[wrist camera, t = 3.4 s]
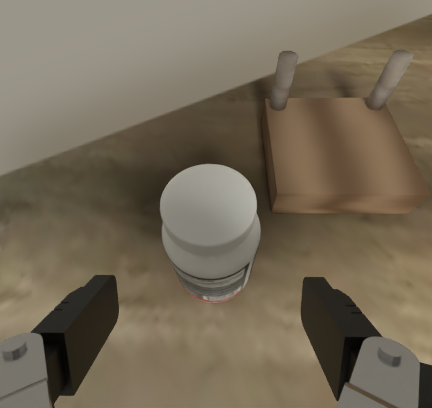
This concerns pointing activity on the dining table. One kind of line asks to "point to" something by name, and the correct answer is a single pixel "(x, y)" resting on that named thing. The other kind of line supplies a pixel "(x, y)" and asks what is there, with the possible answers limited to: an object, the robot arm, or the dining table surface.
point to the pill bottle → (210, 230)
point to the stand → (338, 149)
